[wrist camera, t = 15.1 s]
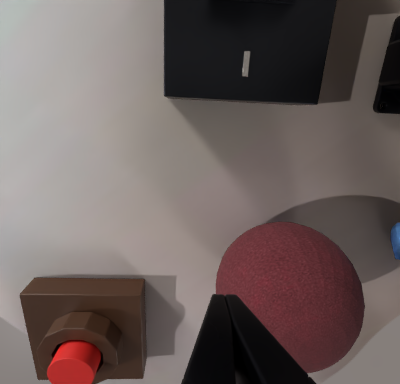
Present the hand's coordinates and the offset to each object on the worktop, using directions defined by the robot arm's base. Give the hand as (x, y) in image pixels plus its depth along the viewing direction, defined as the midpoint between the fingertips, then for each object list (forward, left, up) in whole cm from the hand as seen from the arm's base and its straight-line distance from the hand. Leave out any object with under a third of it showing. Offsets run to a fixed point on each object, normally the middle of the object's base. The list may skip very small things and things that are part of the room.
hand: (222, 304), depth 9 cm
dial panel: (-2, -13, -13) cm, 18 cm away
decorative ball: (-6, +6, -13) cm, 16 cm away
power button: (+10, +14, -9) cm, 20 cm away
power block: (+10, +14, -13) cm, 22 cm away
